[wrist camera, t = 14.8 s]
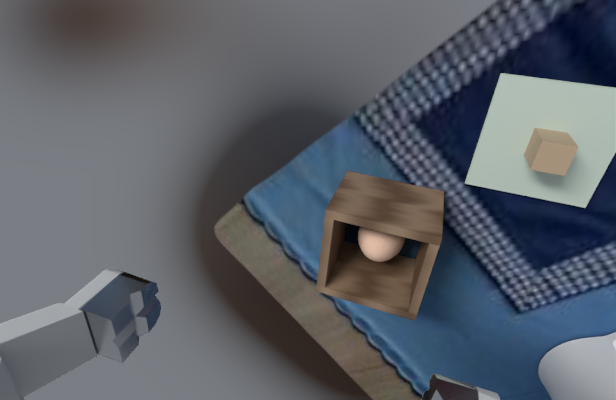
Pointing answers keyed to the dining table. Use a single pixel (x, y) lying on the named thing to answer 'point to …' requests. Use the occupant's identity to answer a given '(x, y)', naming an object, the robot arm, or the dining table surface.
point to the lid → (546, 139)
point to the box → (386, 218)
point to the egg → (379, 244)
